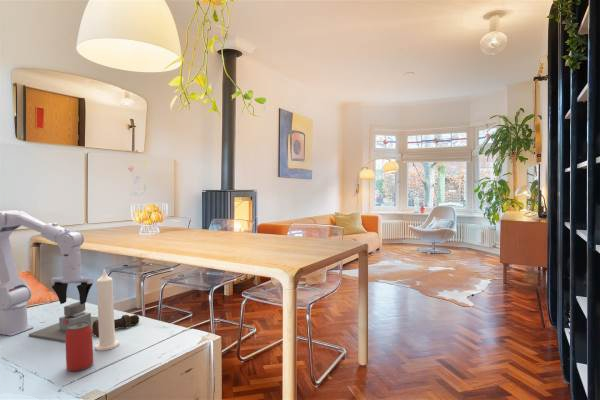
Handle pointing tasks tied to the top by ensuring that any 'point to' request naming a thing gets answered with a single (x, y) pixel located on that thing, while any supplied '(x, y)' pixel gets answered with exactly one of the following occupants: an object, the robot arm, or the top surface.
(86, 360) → the beer can
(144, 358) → the top surface
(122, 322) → the bolt
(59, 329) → the jack base
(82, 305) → the tall silver metal block
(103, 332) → the candle
